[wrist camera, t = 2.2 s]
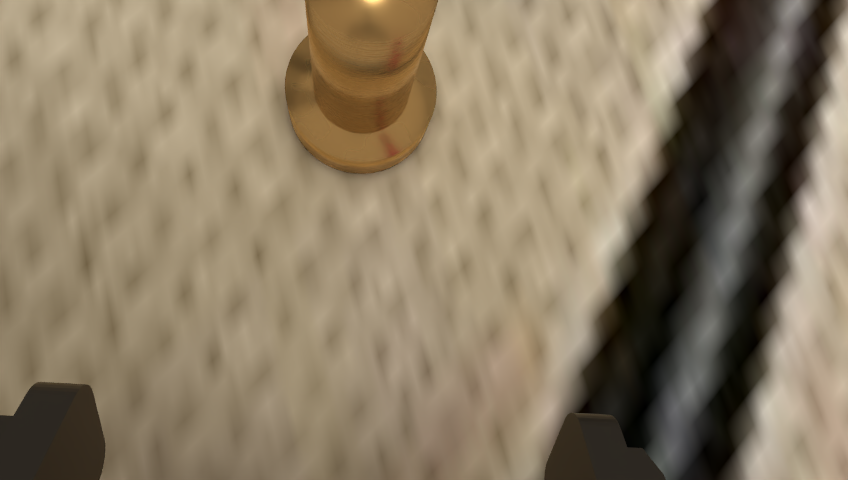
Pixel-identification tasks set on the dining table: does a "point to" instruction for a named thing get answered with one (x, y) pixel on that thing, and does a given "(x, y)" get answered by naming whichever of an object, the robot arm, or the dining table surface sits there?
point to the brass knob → (362, 82)
